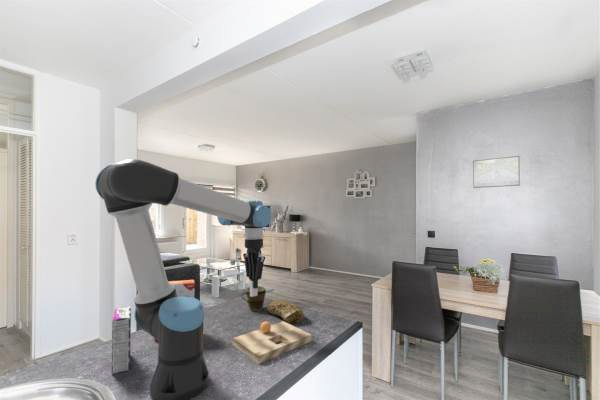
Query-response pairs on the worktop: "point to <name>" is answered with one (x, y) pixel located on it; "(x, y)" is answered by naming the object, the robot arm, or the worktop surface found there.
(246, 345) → the board
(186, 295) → the cracker box
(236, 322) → the worktop surface
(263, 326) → the ball
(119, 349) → the candy bar box
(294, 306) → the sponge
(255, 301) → the ceramic cup
